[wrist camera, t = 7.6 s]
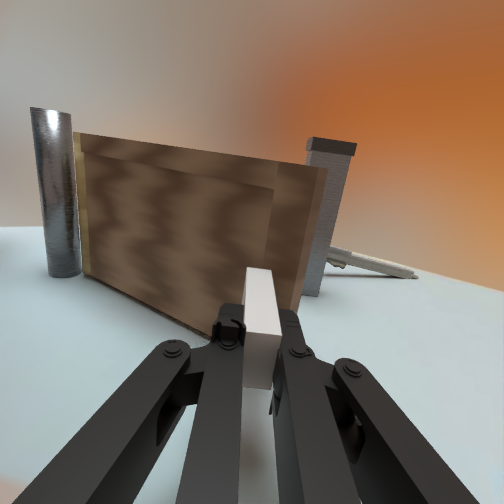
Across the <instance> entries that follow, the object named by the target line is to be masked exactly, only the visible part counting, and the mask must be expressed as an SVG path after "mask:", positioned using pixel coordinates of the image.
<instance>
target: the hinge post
mask: <svg viewBox="0 0 504 504" xmlns="http://www.w3.org/2000/svg"><path fill="white" fill-rule="evenodd" d="M30 112H31V121H32V130H33V139H34V148H35V156H36V165H37V173H38V183H39V191H40V201H41V209H42V218H43V227H44V236H45V245H46V253H47V262H48V271H49V275H50V276H52V277H56V278H67V277H73V276H76V275H78V274H80V273H81V272H82V266H81V252H80V238H79V224H78V209H77V195H76V181H75V168H74V154H73V140H72V125H71V114H68V113H63V112H58V111H53V110H47V109H41V108H34V107H30Z"/></svg>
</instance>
